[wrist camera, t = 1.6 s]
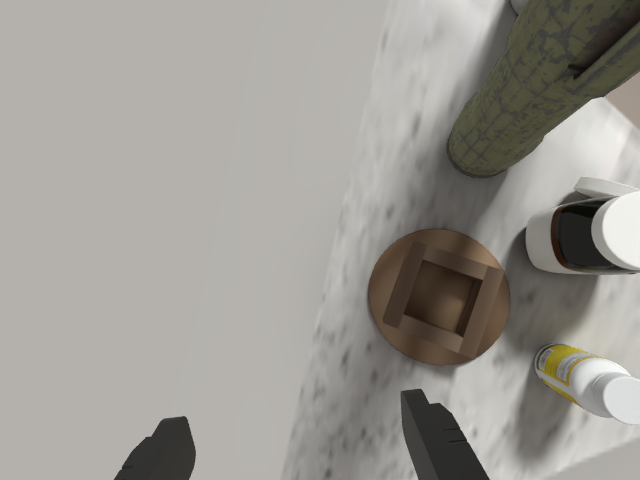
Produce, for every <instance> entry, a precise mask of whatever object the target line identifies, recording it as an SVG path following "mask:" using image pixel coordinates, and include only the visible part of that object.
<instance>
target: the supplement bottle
mask: <svg viewBox="0 0 640 480" xmlns="http://www.w3.org/2000/svg"><path fill="white" fill-rule="evenodd" d="M535 370H536V373H537V375H538V377H539V378H540V379H541V381H542V382H543V383H545V384H546V385H547V386H548V387H550V388H551V389H553V390H555V391H556V392H558V393H559V394H561V395H563V396H564V397H566V398H567V399H569V400H571V401H572V402H574V403H575V404H577V405H578V406H580V407H582V408H583V409H585V410H587V411H588V412H590V413H592V414H594V415H597V416H600V417H605V418H615V419H616V420H618V421H620V422H622V423H625V424H630V425H638V424H640V380H638V379H636V378H633V377H631V375H630V374H629V373H628V372H627V371H626V370H625V369H624V368H623V367H621V366H620V365H618V364H616V363H614V362H612V361H610V360H607V359H604V358H602V357H599V356H596V355H593V354H590V353H588V352H585V351H582V350H579V349H576V348H574V347H571V346H568V345H564V344H550V345H547V346H545V347H543V348H542V349H541V350H540V351H539V352H538V353H537V355H536V358H535Z"/></svg>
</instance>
